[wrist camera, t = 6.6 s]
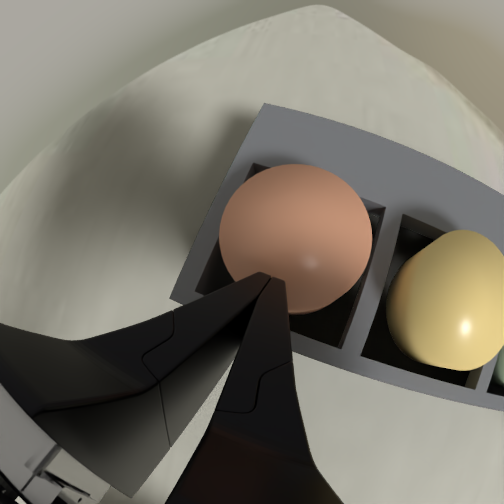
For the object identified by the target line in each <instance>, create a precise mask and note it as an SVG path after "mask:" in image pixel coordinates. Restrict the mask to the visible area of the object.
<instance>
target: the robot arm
mask: <svg viewBox="0 0 504 504" xmlns="http://www.w3.org/2000/svg"><path fill="white" fill-rule="evenodd" d="M234 358H235V359H234ZM233 360H234V362H233V364H232V367H231V369H230V372H229V375H228V377H227V380H226V382H225V385H224V387H223V390H222V393H221V395H220V398H219V400H218V403H217V405H216V408H215V411H214V413H213V415H212V418H211V420H210V423H209V425H208V427H207V429H206V431H205V433H204V435H203V437H202V439H201V441H200V443H199V444H198V446H197V448H196V450H195V452H194V453H193V455H192V457H191V459H190V461H189V462H188V464H187V466H186V468H185V469H184V471H183V473H182V475H181V476H180V478H179V480H178V482H177V483H176V485H175V487H174V489H173V490H172V492H171V494H170V495H169V497H168V499H167V500H166V502H165V504H344V503H343V502H342V501H341V499H340V498H339V497H338V496H337V494H336V493H335V492H334V490H333V489H332V488H331V486H330V485H329V484H328V483H327V481H326V480H325V479H324V477H323V476H322V474H321V473H320V472H319V470H318V469H317V467H316V465H315V463H314V461H313V458H312V455H311V452H310V448H309V444H308V440H307V436H306V432H305V427H304V423H303V419H302V415H301V411H300V407H299V402H298V397H297V392H296V385H295V377H294V366H293V356H292V345H291V334H290V323H289V313H288V303H287V293H286V284H285V281H284V280H282V279H279V278H276V277H272V278H271V275H268V274H266V273H263V272H256V273H254V274H252V275H250V276H248V277H245V278H243V279H241V280H239V281H236V282H234V283H232V284H230V285H228V286H225V287H223V288H221V289H219V290H216V291H214V292H212V293H210V294H208V295H205V296H203V297H201V298H199V299H196V300H194V301H192V302H189V303H187V304H185V305H183V306H180V307H178V308H176V309H174V310H173V311H172V310H171V311H169V312H166V313H164V314H162V315H159V316H157V317H154V318H152V319H149V320H147V321H144V322H141V323H138V324H135V325H132V326H129V327H126V328H122V329H119V330H116V331H112V332H109V333H106V334H102V335H99V336H95V337H92V338H88V339H83V340H73V341H71V340H62V339H58V338H53V337H49V336H45V335H41V334H37V333H33V332H29V331H25V330H21V329H18V328H14V327H11V326H7V325H4V324H1V323H0V504H19V503H17V502H16V501H15V499H16V498H17V497H18V496H20V497H21V499H22V500H23V501H24V502H25V503H26V504H98V503H99V502H100V500H101V499H102V498H103V496H104V495H105V494H106V492H107V491H108V489H109V488H110V487H111V486H112V487H114V488H115V489H117V490H118V491H120V492H122V493H123V494H125V495H126V496H128V497H130V498H132V497H133V496H134V495H135V493H136V492H137V491H138V490H139V488H140V487H141V486H142V484H143V483H144V482H145V481H146V479H147V478H148V477H149V476H150V474H151V473H152V472H153V470H154V469H155V468H156V467H157V465H158V464H159V463H160V461H161V460H162V459H163V457H164V456H165V455H166V453H167V452H168V451H169V450H170V447H172V445H173V444H174V443H175V441H176V440H177V439H178V437H179V436H180V435H181V433H182V432H183V431H184V429H185V428H186V426H187V425H188V424H189V422H190V421H191V420H192V418H193V417H194V415H195V414H196V413H197V411H198V410H199V408H200V407H201V406H202V404H203V403H204V401H205V400H206V399H207V397H208V396H209V394H210V393H211V391H212V390H213V389H214V387H215V386H216V384H217V383H218V381H219V380H220V379H221V377H222V376H223V374H224V373H225V371H226V370H227V368H228V367H229V365H230V364H231V363H232V361H233Z"/></svg>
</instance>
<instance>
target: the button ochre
mask: <svg viewBox="0 0 504 504" xmlns="http://www.w3.org/2000/svg"><path fill="white" fill-rule="evenodd" d="M386 317H387V323H388V328H389V331H390V333H391V336H392V338H393V340H394V342H395V343H396V345H397V346H398V348H399V349H400V350H401V351H402V352H403V353H404V354H405V355H406V356H407V357H409V358H410V359H412V360H414V361H416V362H419V363H423V364H427V365H432V366H438V367H443V368H448V369H454V370H463V371H466V370H472V369H475V368H478V367H481V366H482V365H484V364H486V363H487V362H489V361H490V360H491V359H492V358H493V357H494V356H495V355H496V354H497V353H498V352H499V351H500V349H501V348H502V347H503V345H504V256H503V254H502V253H501V252H500V250H499V249H498V248H497V247H496V246H495V244H494V243H493V242H491V241H490V240H489V239H488V238H486V237H485V236H483V235H481V234H479V233H477V232H474V231H470V230H455V231H451V232H448V233H446V234H444V235H442V236H441V237H439V238H438V239H436V240H435V241H434V242H432V243H431V244H430V245H428V246H427V247H425V248H424V249H422V250H421V251H420V252H418V253H417V254H415V255H414V256H412V257H411V258H409V259H408V260H407V261H406V262H405V263H403V265H402V266H401V267H400V268H399V269H398V271H397V272H396V274H395V275H394V277H393V279H392V281H391V284H390V287H389V290H388V294H387V301H386Z"/></svg>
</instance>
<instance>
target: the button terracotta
mask: <svg viewBox="0 0 504 504" xmlns="http://www.w3.org/2000/svg"><path fill="white" fill-rule="evenodd" d="M219 244H220V250H221V254H222V258H223V261H224V263H225V265H226V267H227V270H228V272H229V273H230V275H231V276H232V278H233V279H234V280H235V282H236V281H239V280H241V279H243V278H245V277H248V276H250V275H252V274H254V273H256V272H263V273H266V274H268V275H271V278H272V277H276V278H279V279H282V280H284V281H285V284H286V293H287V303H288V313H289V315H303V314H308V313H313V312H315V311H318V310H321V309H322V308H324V307H326V306H328V305H329V304H331V303H332V302H334V301H335V300H336V299H338V298H339V297H341V296H342V295H343V294H345V293H346V292H347V291H348V290H349V289H350V288H351V287H352V286H353V285H354V284H355V283H356V282H357V280H358V279H359V278H360V276H361V275H362V273H363V271H364V269H365V267H366V265H367V262H368V260H369V257H370V252H371V247H372V228H371V223H370V219H369V216H368V213H367V210H366V208H365V206H364V204H363V202H362V201H361V199H360V198H359V196H358V195H357V193H356V192H355V191H354V190H353V189H352V188H351V187H350V186H349V185H348V184H347V183H346V182H345V181H344V180H342V179H341V178H339V177H338V176H336V175H334V174H333V173H331V172H329V171H326V170H324V169H321V168H318V167H314V166H310V165H303V164H287V165H280V166H276V167H272V168H269V169H266V170H264V171H262V172H260V173H257V174H256V175H254V176H253V177H251V178H249V179H248V180H247V181H246V182H245V183H243V184H242V185H241V186H240V187H239V188H238V189H237V190H236V191H235V193H234V194H233V196H232V197H231V198H230V200H229V202H228V204H227V205H226V207H225V210H224V212H223V215H222V219H221V223H220V230H219Z"/></svg>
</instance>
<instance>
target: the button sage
mask: <svg viewBox="0 0 504 504" xmlns="http://www.w3.org/2000/svg"><path fill="white" fill-rule="evenodd" d="M490 384H491V385H494V386H498V387H504V345H503V347H502V348H501V349H500V351H499V354H498V357H497V361H496V364H495V367H494V371H493V374H492V377H491V380H490Z"/></svg>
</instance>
